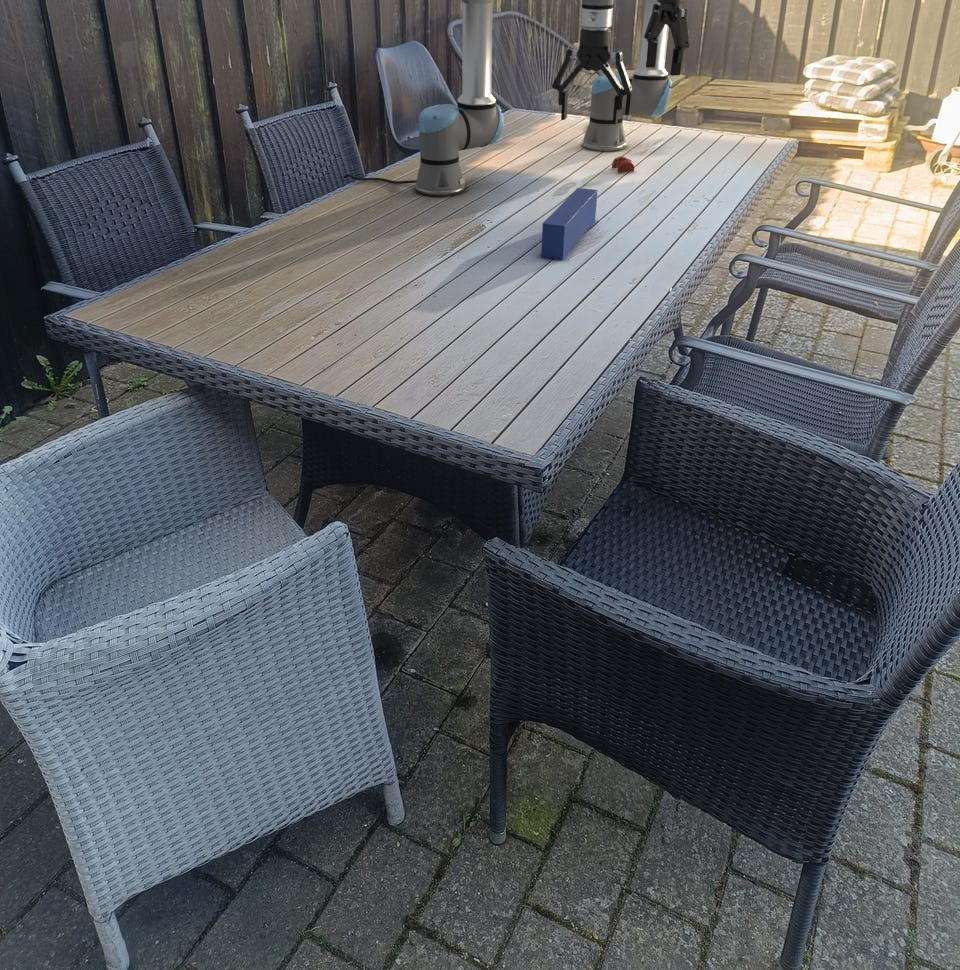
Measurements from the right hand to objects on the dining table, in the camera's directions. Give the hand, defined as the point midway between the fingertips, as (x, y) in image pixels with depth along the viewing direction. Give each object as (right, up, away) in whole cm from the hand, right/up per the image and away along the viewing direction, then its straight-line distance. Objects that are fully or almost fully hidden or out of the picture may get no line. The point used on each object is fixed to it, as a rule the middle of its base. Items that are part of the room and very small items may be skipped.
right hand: (662, 71), depth 243 cm
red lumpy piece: (-6, -17, +32) cm, 37 cm away
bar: (-29, -54, -20) cm, 65 cm away
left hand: (-25, -26, -26) cm, 44 cm away
